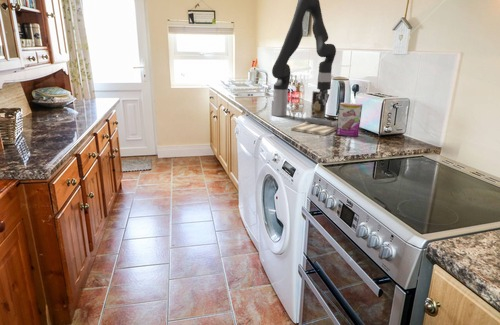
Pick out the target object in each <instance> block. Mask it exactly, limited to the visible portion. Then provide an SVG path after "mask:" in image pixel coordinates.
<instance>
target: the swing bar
mask: <svg viewBox="0 0 500 325" xmlns="http://www.w3.org/2000/svg"><path fill="white" fill-rule="evenodd" d="M305 122H311V123H318V124H325V125H332V126H337V122H338V120H329V119H324V118H322V119H321V118H316V117H305V118H304V123H305Z"/></svg>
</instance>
